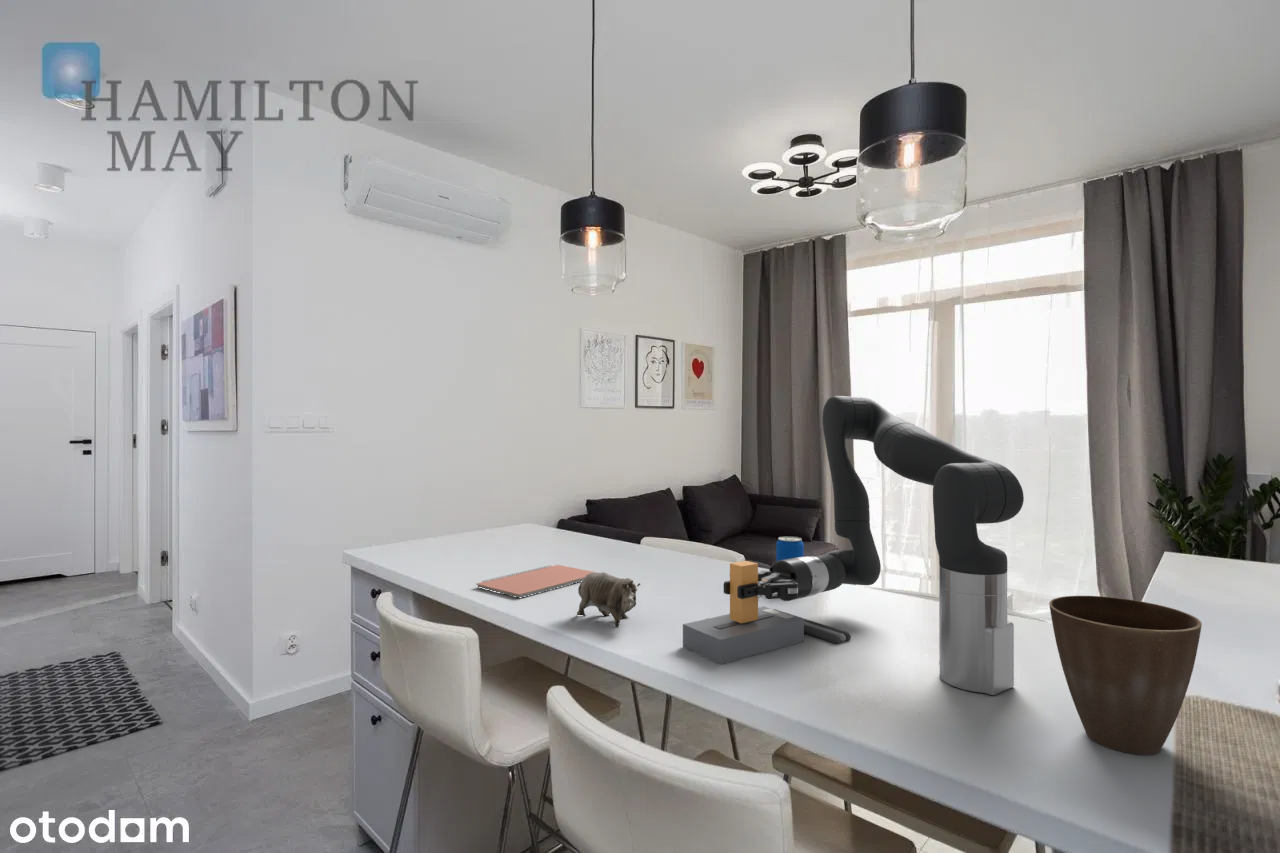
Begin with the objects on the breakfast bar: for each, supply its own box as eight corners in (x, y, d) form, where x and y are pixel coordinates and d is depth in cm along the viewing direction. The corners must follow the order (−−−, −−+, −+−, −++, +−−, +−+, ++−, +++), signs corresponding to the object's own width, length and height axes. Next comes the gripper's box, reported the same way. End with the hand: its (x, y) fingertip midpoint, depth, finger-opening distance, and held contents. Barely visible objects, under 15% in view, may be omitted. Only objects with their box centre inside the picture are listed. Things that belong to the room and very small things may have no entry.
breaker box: (803, 641, 115) (803, 618, 115) (720, 664, 103) (720, 639, 104) (763, 626, 123) (763, 605, 123) (682, 646, 112) (682, 623, 112)
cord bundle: (852, 640, 115) (852, 632, 115) (816, 651, 110) (816, 643, 110) (774, 614, 131) (774, 607, 131) (738, 622, 126) (738, 615, 126)
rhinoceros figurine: (593, 594, 138) (617, 544, 131) (631, 642, 130) (658, 592, 123) (565, 604, 132) (588, 553, 125) (603, 655, 125) (629, 603, 118)
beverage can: (801, 585, 156) (801, 536, 156) (805, 591, 150) (805, 541, 150) (774, 584, 157) (774, 536, 157) (777, 591, 150) (777, 540, 150)
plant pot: (1179, 788, 68) (1179, 639, 68) (1028, 734, 80) (1028, 607, 80) (1218, 747, 76) (1217, 614, 77) (1076, 703, 89) (1076, 589, 89)
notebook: (554, 570, 175) (554, 563, 175) (600, 579, 164) (600, 571, 164) (473, 590, 153) (473, 581, 153) (519, 601, 143) (519, 593, 143)
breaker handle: (758, 619, 113) (758, 563, 113) (741, 623, 111) (741, 566, 111) (746, 615, 116) (746, 560, 116) (729, 619, 113) (729, 563, 113)
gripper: (771, 552, 127) (705, 562, 117) (828, 564, 116) (760, 576, 106) (771, 589, 127) (705, 602, 117) (828, 605, 115) (760, 621, 106)
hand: (732, 590), depth 112 cm, fingers closed on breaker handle, 3 cm apart
